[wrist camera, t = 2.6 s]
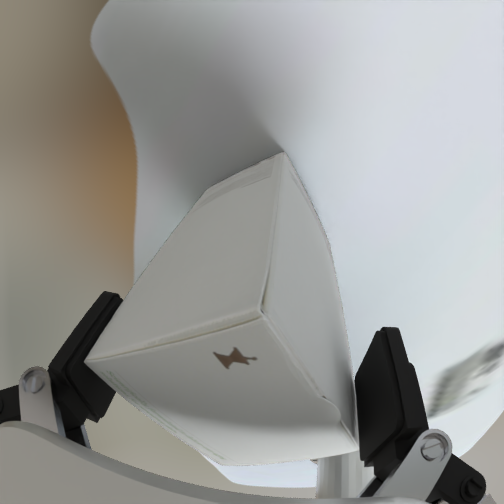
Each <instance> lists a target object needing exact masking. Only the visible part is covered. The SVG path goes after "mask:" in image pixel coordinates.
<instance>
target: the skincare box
mask: <svg viewBox="0 0 504 504" xmlns="http://www.w3.org/2000/svg"><path fill="white" fill-rule="evenodd" d="M84 363H85V364H86V365H87V366H88V367H89V368H90V369H92V370H93V371H94V372H95V373H96V374H97V375H98V376H99V377H100V378H101V379H102V380H104V381H105V382H106V383H107V384H108V385H109V386H110V387H111V388H113V389H114V390H115V391H116V392H117V393H118V394H120V395H121V396H122V397H123V398H125V399H126V400H127V401H128V402H129V403H131V404H132V405H133V406H134V407H136V408H137V409H138V410H140V411H141V412H142V413H143V414H145V415H146V416H147V417H149V418H150V419H151V420H153V421H154V422H156V423H157V424H158V425H160V426H161V427H163V428H164V429H166V430H167V431H168V432H170V433H171V434H173V435H174V436H176V437H177V438H178V439H180V440H182V441H183V442H184V443H186V444H188V445H189V446H191V447H192V448H194V449H195V450H197V451H198V452H200V453H202V454H203V455H205V456H207V457H208V458H210V459H211V460H213V461H215V462H216V463H218V464H220V465H224V466H250V465H264V464H275V463H284V462H293V461H300V460H308V459H316V458H323V457H329V456H335V455H341V454H345V453H350V452H354V451H357V450H359V433H358V418H357V405H356V394H355V385H354V377H353V369H352V362H351V355H350V349H349V343H348V337H347V330H346V324H345V318H344V313H343V307H342V302H341V297H340V292H339V287H338V282H337V277H336V272H335V267H334V262H333V257H332V252H331V247H330V244H329V241H328V239H327V236H326V234H325V231H324V229H323V227H322V225H321V223H320V220H319V218H318V216H317V214H316V212H315V209H314V207H313V205H312V203H311V201H310V199H309V197H308V195H307V192H306V190H305V188H304V186H303V184H302V182H301V180H300V178H299V176H298V174H297V173H296V171H295V169H294V167H293V165H292V163H291V161H290V160H289V158H288V156H287V154H286V153H285V152H281V153H279V154H276V155H274V156H272V157H270V158H267V159H265V160H263V161H261V162H259V163H257V164H254V165H252V166H250V167H248V168H246V169H244V170H242V171H240V172H238V173H236V174H234V175H232V176H230V177H228V178H227V179H225V180H223V181H221V182H219V183H217V184H215V185H213V186H211V187H210V188H208V189H207V190H206V191H205V192H204V193H203V195H202V196H201V197H200V198H199V200H198V201H197V202H196V203H195V205H194V206H193V207H192V208H191V210H190V211H189V212H188V213H187V215H186V216H185V217H184V218H183V220H182V221H181V222H180V223H179V225H178V226H177V227H176V229H175V230H174V231H173V232H172V234H171V235H170V236H169V238H168V239H167V240H166V242H165V243H164V245H163V246H162V247H161V248H160V250H159V251H158V252H157V254H156V255H155V257H154V258H153V259H152V261H151V262H150V263H149V265H148V266H147V268H146V269H145V270H144V271H143V273H142V274H141V276H140V277H139V279H138V280H137V282H136V283H135V284H134V286H133V287H132V289H131V290H130V291H129V293H128V294H127V296H126V297H125V299H124V300H123V302H122V303H121V305H120V306H119V308H118V309H117V310H116V312H115V314H114V315H113V317H112V319H111V320H110V322H109V323H108V324H107V326H106V327H105V329H104V330H103V332H102V333H101V335H100V336H99V338H98V340H97V341H96V343H95V345H94V346H93V348H92V349H91V351H90V353H89V354H88V356H87V357H86V359H85V360H84Z"/></svg>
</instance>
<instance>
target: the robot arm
mask: <svg viewBox="0 0 504 504" xmlns="http://www.w3.org/2000/svg"><path fill="white" fill-rule="evenodd" d="M122 302H123V299H122V298H120V296H119V294H116V293H112V292H107V291H104V292H103V293H102V294H101V295H100V296H99V298H98V299H97V300H96V302H95V303H94V304H93V305H92V307H91V308H90V309H89V310H88V312H87V313H86V314H85V316H84V317H83V318H82V320H81V321H80V322H79V324H78V325H77V326H76V328H75V329H74V330H73V332H72V333H71V335H70V336H69V337H68V339H67V340H66V341H65V343H64V344H63V346H62V347H61V349H60V350H59V351H58V353H57V354H56V356H55V357H54V359H53V360H52V362H51V363H50V365H49V366H48V367H49V369H48V370H47V371H46V369H44V368H43V367H39V366H35V367H31V368H29V369H28V370H26V371H25V372H24V373H23V374H22V375H21V378H20V380H19V385H16V386H13V387H10V388H6V389H3V390H0V504H496V503H495V501H494V500H493V498H492V497H491V495H490V494H487V495H486V494H485V491H486V482H485V479H484V477H483V476H482V475H481V474H480V473H479V472H478V471H476V470H475V469H473V468H472V467H470V466H469V465H468V464H466V463H465V462H463V461H462V460H461V459H459V458H458V457H456V456H455V455H454V454H452V443H451V440H450V438H449V437H448V435H447V434H446V433H444V432H443V431H441V430H439V429H430V430H429V427H428V422H427V417H426V412H425V408H424V404H423V399H422V395H421V391H420V387H419V383H418V379H417V375H416V372H415V368H414V366H413V365H412V363H409V361H408V358H407V354H406V351H405V347H404V344H403V340H402V337H401V334H400V331H399V329H398V328H396V327H382V328H381V330H380V331H376V333H375V335H374V338H373V340H372V342H371V344H370V346H369V349H368V351H367V353H366V355H365V357H364V359H363V361H362V363H361V365H360V367H359V369H358V371H357V373H356V376H355V382H354V383H355V394H356V405H357V418H358V433H359V450H357V451H354V452H350V453H345V454H341V455H335V456H329V457H323V458H316V459H310V460H311V461H312V462H313V463H316V464H318V465H317V483H316V498H315V499H305V498H283V497H282V498H281V497H269V496H260V495H251V494H243V493H237V492H230V491H224V490H218V489H213V488H208V487H203V486H199V485H194V484H190V483H186V482H181V481H178V480H174V479H171V478H167V477H164V476H160V475H157V474H154V473H151V472H147V471H144V470H142V469H139V468H136V467H132V466H130V465H127V464H124V463H122V462H119V461H117V460H114V459H112V458H109V457H107V456H105V455H102V454H100V453H98V452H95V451H93V450H92V449H91V446H90V443H89V440H88V436H87V433H86V429H85V425H84V422H85V420H86V418H87V419H90V420H92V421H94V422H96V423H97V422H98V421H99V419H100V418H102V417H103V416H104V415H105V413H106V411H107V409H108V407H109V405H110V403H111V401H112V399H113V397H114V395H115V393H116V391H115V390H114V389H113V388H111V387H110V386H109V385H108V384H107V383H106V382H105V381H104V380H102V379H101V378H100V377H99V376H98V375H97V374H96V373H95V372H94V371H93V370H92V369H90V368H89V367H88V366H87V365H86V364H85V363H84V360H85V359H86V357H87V356H88V354H89V353H90V351H91V349H92V348H93V346H94V345H95V343H96V341H97V340H98V338H99V336H100V335H101V333H102V332H103V330H104V329H105V327H106V326H107V324H108V323H109V322H110V320H111V319H112V317H113V315H114V314H115V312H116V310H117V309H118V308H119V306H120V305H121V303H122Z"/></svg>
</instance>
